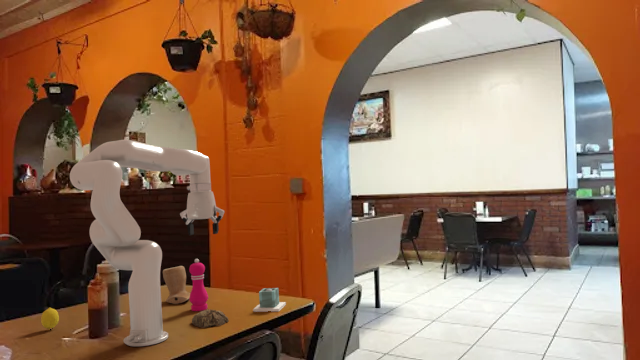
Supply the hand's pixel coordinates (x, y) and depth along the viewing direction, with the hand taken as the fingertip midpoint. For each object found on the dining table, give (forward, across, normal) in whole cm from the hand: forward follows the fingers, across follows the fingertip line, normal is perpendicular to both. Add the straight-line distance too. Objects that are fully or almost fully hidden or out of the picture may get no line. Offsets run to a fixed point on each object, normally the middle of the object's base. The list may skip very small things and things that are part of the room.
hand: (203, 234), depth 176 cm
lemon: (+31, -53, -16) cm, 63 cm away
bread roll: (+31, +5, -8) cm, 32 cm away
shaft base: (+30, +21, +10) cm, 38 cm away
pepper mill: (+31, -8, +10) cm, 33 cm away
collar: (+29, +21, +10) cm, 37 cm away
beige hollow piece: (+31, -25, +25) cm, 47 cm away
